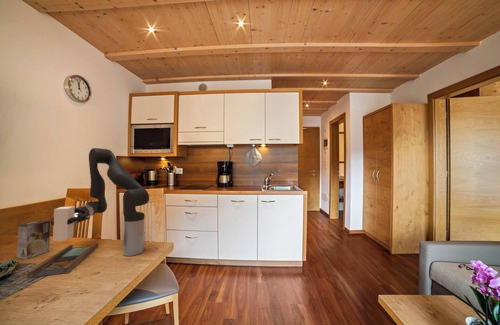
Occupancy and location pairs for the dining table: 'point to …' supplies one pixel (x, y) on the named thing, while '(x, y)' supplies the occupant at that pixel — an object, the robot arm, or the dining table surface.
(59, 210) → the cream block
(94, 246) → the frame
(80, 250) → the pad
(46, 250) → the coffee box
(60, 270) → the grey base plate
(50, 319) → the dining table surface
